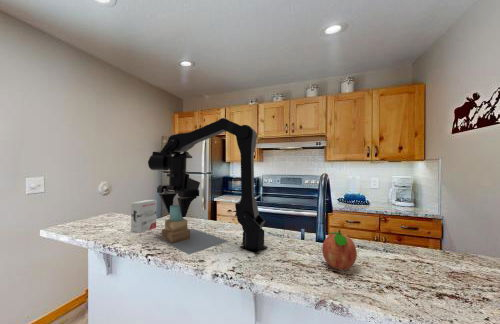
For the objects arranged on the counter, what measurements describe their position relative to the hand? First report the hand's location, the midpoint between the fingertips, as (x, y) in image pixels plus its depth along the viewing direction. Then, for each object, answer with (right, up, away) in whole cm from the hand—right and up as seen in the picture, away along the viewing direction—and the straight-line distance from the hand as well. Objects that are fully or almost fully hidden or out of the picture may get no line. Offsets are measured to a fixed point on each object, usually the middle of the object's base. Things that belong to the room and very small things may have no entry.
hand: (176, 214), depth 77 cm
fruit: (+50, -10, -19) cm, 54 cm away
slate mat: (+5, -9, 0) cm, 10 cm away
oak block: (0, -5, 0) cm, 5 cm away
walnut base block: (0, -8, 0) cm, 8 cm away
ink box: (-17, -9, +10) cm, 21 cm away
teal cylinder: (0, -2, 0) cm, 2 cm away
